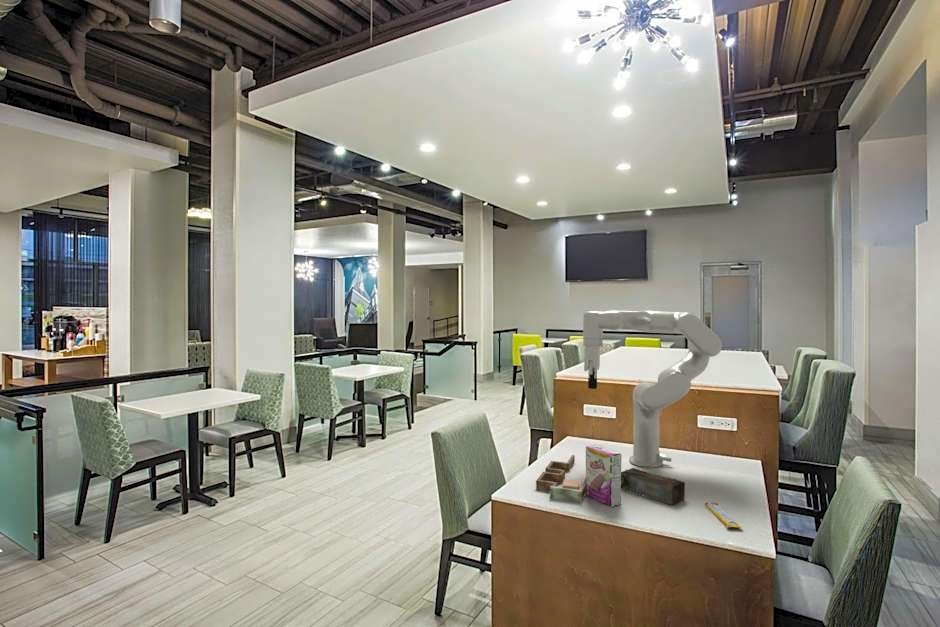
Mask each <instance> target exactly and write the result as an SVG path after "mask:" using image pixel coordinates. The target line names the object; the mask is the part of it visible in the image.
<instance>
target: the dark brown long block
mask: <svg viewBox="0 0 940 627" xmlns="http://www.w3.org/2000/svg"><path fill="white" fill-rule="evenodd" d="M621 490H625V491H627V490H628V491H627V492H630V491H631V492H630V493H633V492H634V493H633V494H635V493H637V494H636V495H639V494H640V495H639V496H642V495H644V496H643V497H645V496H646V498H648V497H649V498H648V499H651V498H652V500H655V501H658V502H661V503H665V504H668V505H670V506H674V505H677V504H678V503H681V502H683V501H685V495H686V491H685V490H686V483H685V481H681V480H679V479H676V478H671V477H667V476H663V475H659V474H657V473H652V472H649V471H645V470H640V469H638V468H635V467H632V468H629V469H625V470H622V471H621Z"/></svg>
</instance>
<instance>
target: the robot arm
mask: <svg viewBox="0 0 940 627" xmlns="http://www.w3.org/2000/svg"><path fill="white" fill-rule="evenodd" d="M582 322H583V324H582V325H583V328H582V333H583V334H582V341H583V342H582V345H583V346H584V347H585V348H584V358H583V359H584V360H583V361H584V362H583V363H584V364H583V371H584V372H587V371H588V378H587V379H588V380H587V383H588V384H587V388H588V389H590V390H591V389H594V390H596V389H597V388H598V378H597V377H598V370H600V364H601V363H600V362H601V360H600V359H601V347H604V346H603V345H604V340H603V339H604V330H610V331H617V330H630V331H638V332H643V333H651V334H652V333H653V334H654V333H655V334H656V333H657V334H677V335H683V336H684V338H686V339H687V341H689V342H688V344H689V345H688V351H687V353H686V355H685V356H684V357H683V358H681V359H680V360H679V361H677V362H676V363H674V364H672V365H671V366H669V367H668V368H666V369H663V370H661V372H660V373H659V374H658V376H657V382H656V383H651V382H648V381H643V382H639V383H638V384H637V385H635V387H634V389H633V392H632V405H633V445H632V446H633V449H632V450H633V451H632V452H633V455H631V456H630V457H629V458H628V459H629V460H628V461H629V463H631V464H633V465H635V466H637V467H642V468H659V467H663V465H664V461H665V462H672V456H669V455H668V454H662V453H661V450H660V411H661V410H664V409H665V408H667V407H669V406H670V405H672V404H674V403H675V402H677V401H679V400H680V399H682V398H683V397H685V396H686V395H687V394H688V393H689V391H690V390H691V386H692V383H691V382H692V381H693V380H694V379H696V378H697V377H698V376H700V375H702V374H703V372H704V371H705V370H706V369H707V367H708V365H709V362H710V358H713V357H715V356H718V355H719V354H720V353H721V351H722V348H723V345H722V344H723V343H722V341H721V339H720V337H719V336H718V335H717V334H716V332H714V331H712V329H710V328H709V327H708V325H706V324H705V323H704V322H703V321H702V320H701V319H700V318H699V317H698V316H697V315H695V313H691V312H687V311H686V312H683V311H663V310H662V311H661V310H660V311H659V310H639V311H634V310H633V311H632V310H609V309H608V310H606V311H599V310H598V311H597V310H591V311H590V310H588V311H585V312H584V313H583V321H582Z"/></svg>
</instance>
